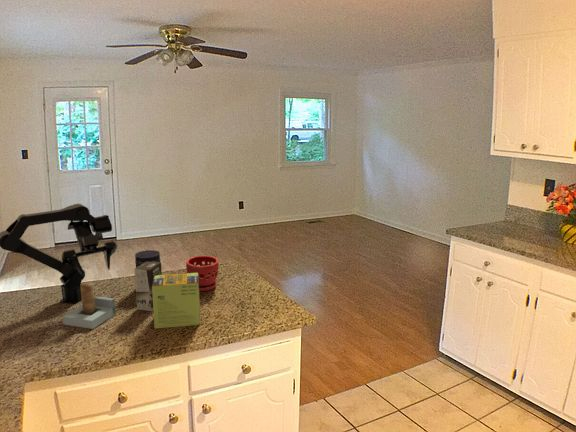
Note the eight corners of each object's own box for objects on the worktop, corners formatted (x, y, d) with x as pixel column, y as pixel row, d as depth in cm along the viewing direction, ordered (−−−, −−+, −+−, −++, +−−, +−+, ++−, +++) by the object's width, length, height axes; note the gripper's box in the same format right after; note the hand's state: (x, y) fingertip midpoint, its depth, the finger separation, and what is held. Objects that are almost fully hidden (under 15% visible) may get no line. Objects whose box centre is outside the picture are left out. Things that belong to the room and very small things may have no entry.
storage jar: (152, 282, 191) (150, 248, 187) (167, 287, 185) (165, 253, 182) (132, 289, 183) (129, 254, 180) (147, 294, 177) (144, 259, 174)
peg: (81, 320, 155) (77, 285, 152) (89, 315, 158) (85, 281, 156) (91, 322, 154) (87, 287, 151) (98, 317, 157) (95, 282, 155)
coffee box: (152, 311, 162) (149, 269, 159) (136, 309, 164) (133, 268, 160) (164, 301, 171) (161, 261, 168) (148, 299, 172) (146, 260, 169)
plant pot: (181, 292, 180) (180, 264, 178) (195, 280, 193) (194, 254, 190) (212, 295, 178) (211, 266, 175) (223, 283, 190) (222, 256, 187)
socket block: (63, 324, 152) (61, 308, 151) (87, 309, 163) (86, 294, 162) (93, 329, 149) (91, 312, 147) (115, 314, 160) (114, 298, 159)
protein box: (200, 325, 152) (198, 282, 149) (154, 329, 149) (151, 286, 146) (200, 312, 162) (198, 272, 159) (156, 315, 159) (153, 275, 156)
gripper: (59, 230, 157) (71, 269, 152) (112, 221, 168) (125, 257, 164) (57, 244, 165) (68, 282, 161) (108, 234, 177) (120, 269, 172)
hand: (96, 272), depth 164 cm, fingers open, 9 cm apart
